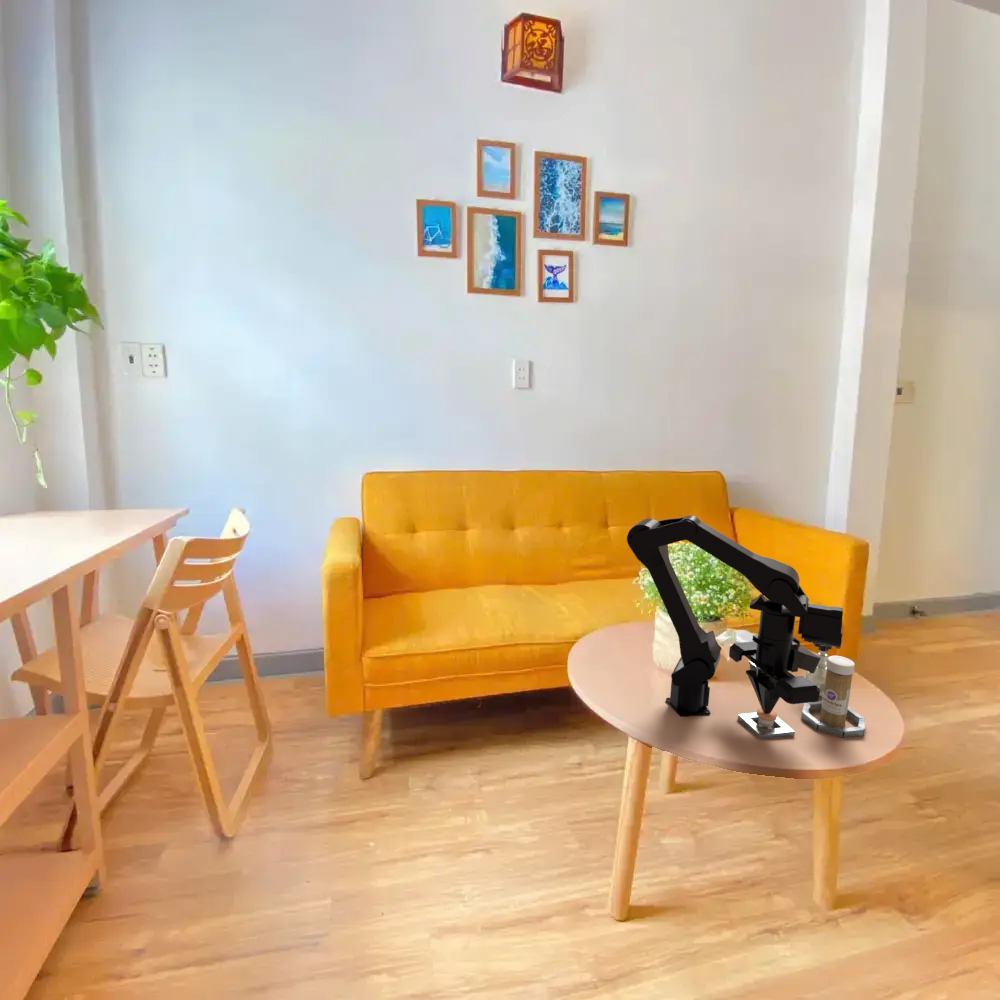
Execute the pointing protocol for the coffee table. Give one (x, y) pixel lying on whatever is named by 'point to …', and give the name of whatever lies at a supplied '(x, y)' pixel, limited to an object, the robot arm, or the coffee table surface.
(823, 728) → the socket ring
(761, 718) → the plunger
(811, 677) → the valve
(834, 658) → the sprinkles bottle
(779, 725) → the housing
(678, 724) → the coffee table surface
